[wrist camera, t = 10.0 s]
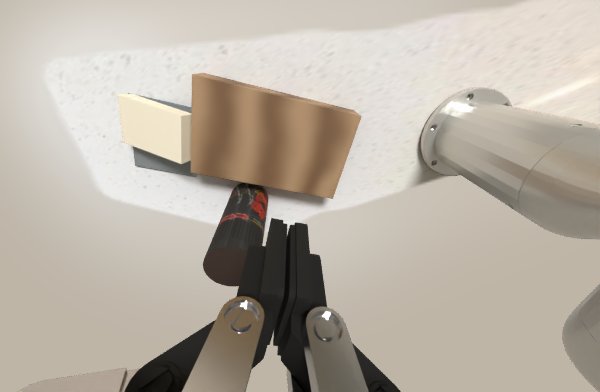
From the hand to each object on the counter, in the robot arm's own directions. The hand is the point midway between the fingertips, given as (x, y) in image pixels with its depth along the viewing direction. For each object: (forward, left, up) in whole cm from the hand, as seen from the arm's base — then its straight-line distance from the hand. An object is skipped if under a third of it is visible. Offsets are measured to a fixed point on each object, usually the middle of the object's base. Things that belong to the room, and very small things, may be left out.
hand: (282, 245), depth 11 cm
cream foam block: (+15, +4, -23) cm, 28 cm away
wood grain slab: (+1, +2, -25) cm, 25 cm away
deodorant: (+3, +13, -26) cm, 29 cm away
